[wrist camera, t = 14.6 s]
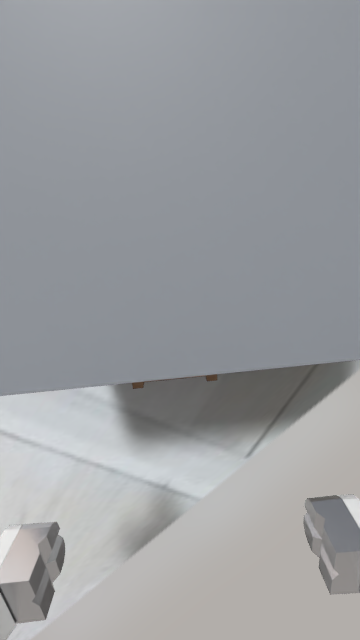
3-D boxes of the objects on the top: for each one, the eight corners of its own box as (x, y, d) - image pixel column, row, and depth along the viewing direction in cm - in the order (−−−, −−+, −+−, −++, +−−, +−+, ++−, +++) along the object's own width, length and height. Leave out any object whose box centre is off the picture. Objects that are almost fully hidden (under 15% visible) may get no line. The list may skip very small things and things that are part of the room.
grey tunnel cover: (352, 98, 18) (678, -122, 7) (335, 279, 22) (522, 343, 11) (46, 126, 18) (-175, -47, 7) (83, 304, 22) (-12, 397, 10)
